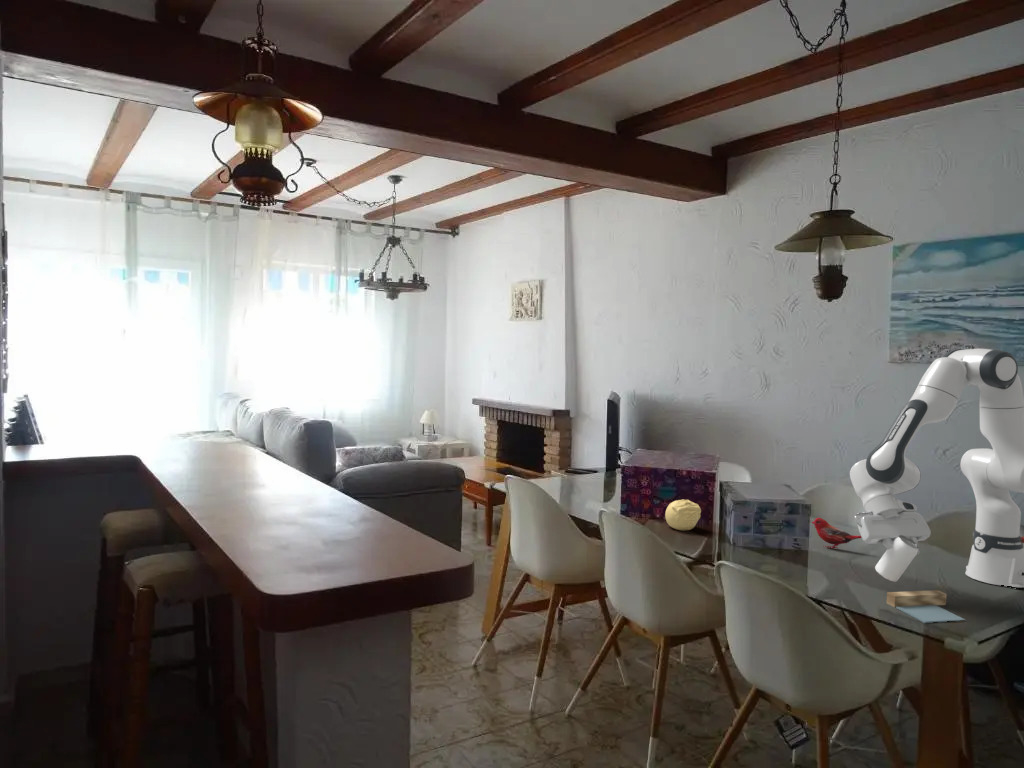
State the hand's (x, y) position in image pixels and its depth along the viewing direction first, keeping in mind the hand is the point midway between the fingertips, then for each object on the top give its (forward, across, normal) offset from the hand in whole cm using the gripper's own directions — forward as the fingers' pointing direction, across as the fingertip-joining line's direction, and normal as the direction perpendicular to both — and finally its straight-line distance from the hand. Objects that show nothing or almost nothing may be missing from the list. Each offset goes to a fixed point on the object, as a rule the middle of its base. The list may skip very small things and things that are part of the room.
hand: (907, 554), depth 200 cm
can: (+2, -4, +8) cm, 9 cm away
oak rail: (+13, -2, +4) cm, 13 cm away
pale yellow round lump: (-43, -34, +58) cm, 80 cm away
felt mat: (+18, -4, -1) cm, 18 cm away
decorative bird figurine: (-21, +9, +38) cm, 44 cm away
